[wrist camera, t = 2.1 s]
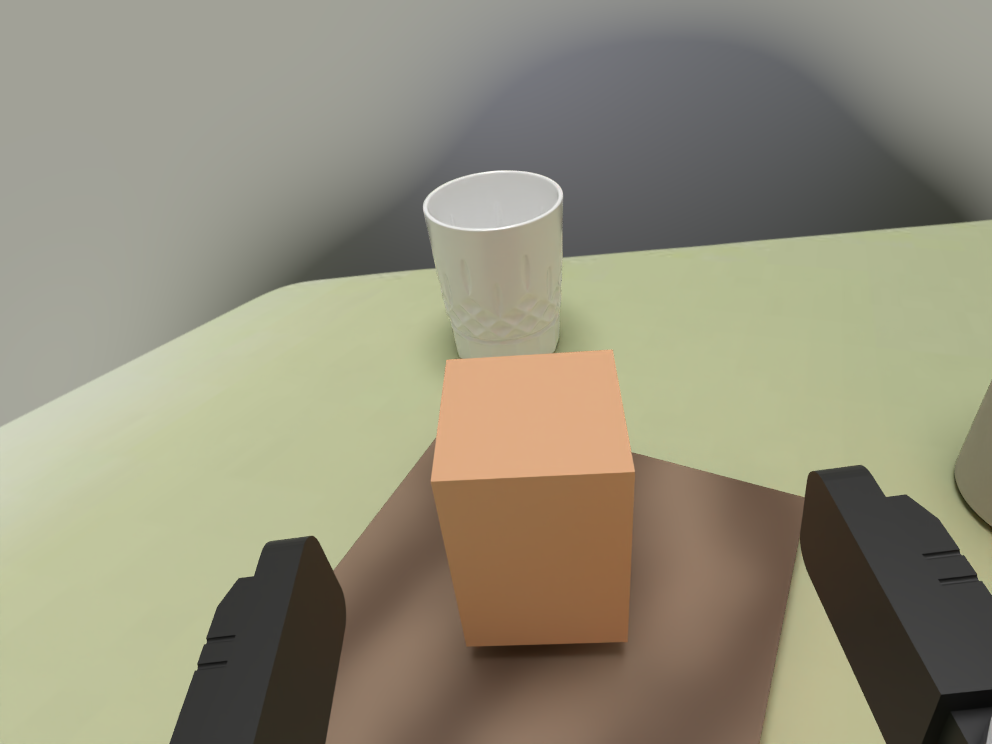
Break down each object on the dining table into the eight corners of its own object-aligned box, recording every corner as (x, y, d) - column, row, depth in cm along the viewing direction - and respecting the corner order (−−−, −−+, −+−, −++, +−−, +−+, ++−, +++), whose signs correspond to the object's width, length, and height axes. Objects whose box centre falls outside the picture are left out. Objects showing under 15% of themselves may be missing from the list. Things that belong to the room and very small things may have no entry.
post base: (242, 716, 27) (135, 552, 21) (462, 423, 39) (435, 264, 33) (713, 971, 20) (764, 837, 14) (802, 515, 32) (851, 335, 26)
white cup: (556, 385, 41) (548, 232, 35) (430, 374, 43) (403, 227, 37) (577, 312, 47) (573, 170, 41) (465, 305, 49) (447, 169, 43)
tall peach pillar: (466, 646, 26) (430, 481, 21) (473, 521, 31) (446, 359, 25) (627, 642, 26) (634, 471, 20) (610, 515, 30) (612, 349, 25)
